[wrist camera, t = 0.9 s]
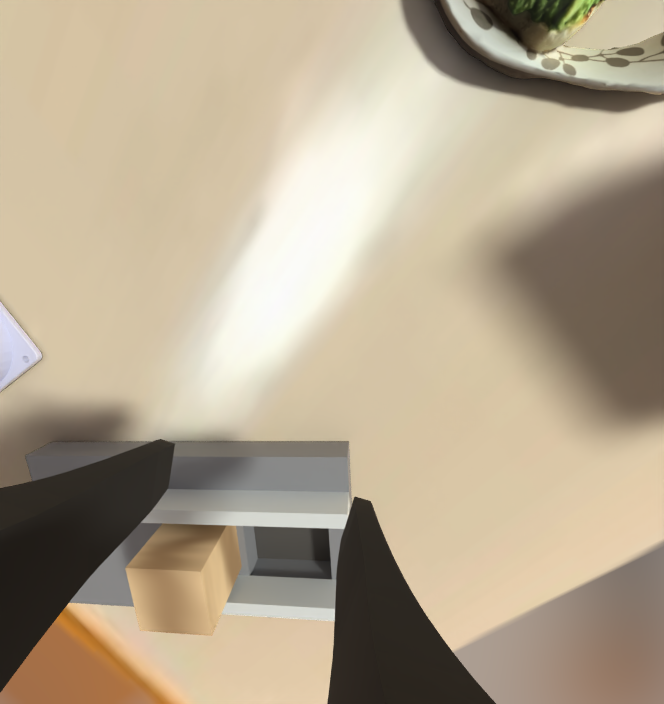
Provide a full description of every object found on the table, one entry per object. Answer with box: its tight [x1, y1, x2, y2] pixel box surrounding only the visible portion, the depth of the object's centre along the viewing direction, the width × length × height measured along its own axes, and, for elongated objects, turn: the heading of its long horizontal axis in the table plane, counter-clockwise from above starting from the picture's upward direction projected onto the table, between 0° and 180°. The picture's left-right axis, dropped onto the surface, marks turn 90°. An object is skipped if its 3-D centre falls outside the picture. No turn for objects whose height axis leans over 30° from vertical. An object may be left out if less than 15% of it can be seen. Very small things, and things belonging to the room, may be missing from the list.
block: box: [125, 523, 242, 636], centre depth 20 cm, size 4×4×4 cm
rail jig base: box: [25, 442, 352, 621], centre depth 22 cm, size 23×13×4 cm, turn 93°
